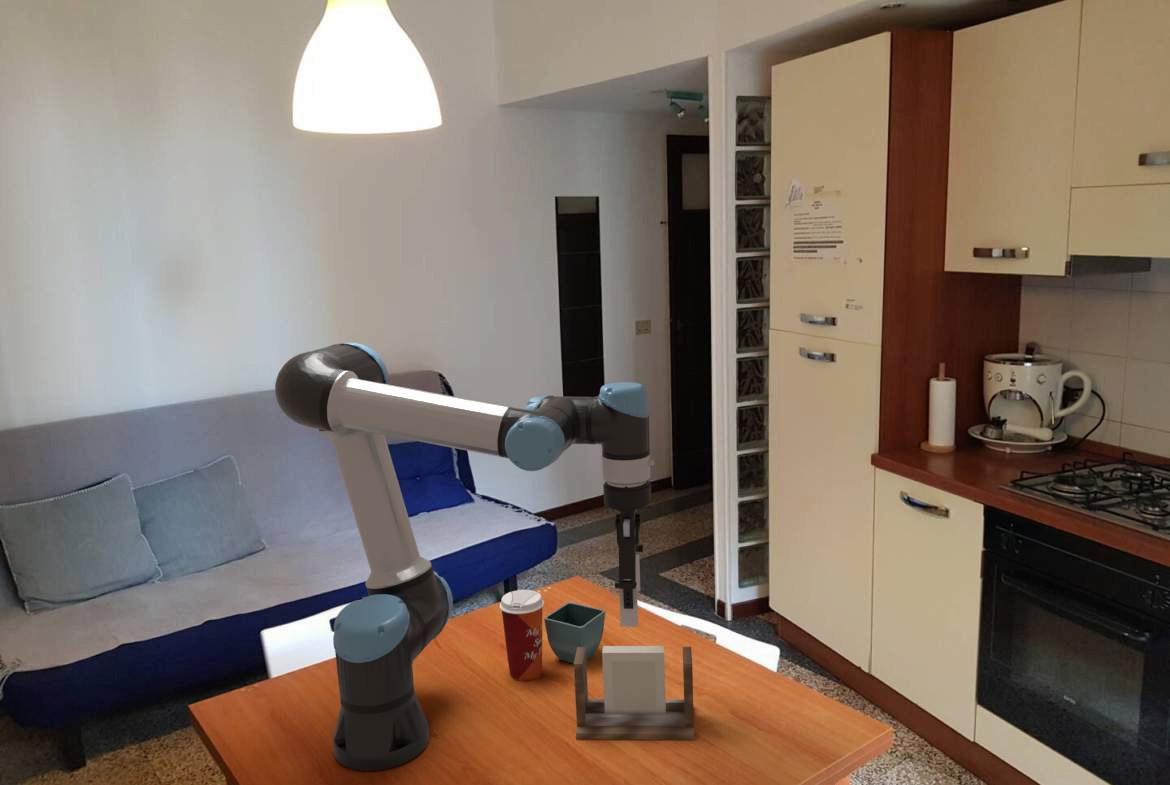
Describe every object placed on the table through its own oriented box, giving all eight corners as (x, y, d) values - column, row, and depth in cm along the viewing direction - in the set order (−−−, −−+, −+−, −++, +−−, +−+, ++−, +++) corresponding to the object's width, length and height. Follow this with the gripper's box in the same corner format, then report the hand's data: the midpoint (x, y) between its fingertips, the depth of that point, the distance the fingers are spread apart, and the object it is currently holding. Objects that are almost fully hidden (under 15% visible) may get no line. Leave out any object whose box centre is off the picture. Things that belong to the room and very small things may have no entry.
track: (576, 738, 144) (572, 669, 142) (581, 706, 154) (578, 641, 152) (694, 739, 142) (692, 670, 140) (692, 707, 152) (690, 641, 150)
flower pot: (608, 653, 173) (606, 609, 171) (583, 672, 166) (581, 627, 164) (570, 643, 178) (568, 601, 176) (545, 662, 170) (542, 618, 169)
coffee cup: (541, 685, 162) (537, 607, 159) (498, 682, 163) (493, 605, 161) (552, 663, 170) (548, 588, 167) (511, 660, 172) (506, 587, 169)
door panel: (605, 720, 147) (602, 653, 145) (606, 712, 150) (603, 646, 147) (665, 721, 146) (663, 653, 144) (665, 713, 149) (663, 645, 147)
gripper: (649, 504, 128) (653, 642, 132) (651, 460, 153) (654, 577, 156) (597, 505, 129) (602, 642, 133) (608, 461, 153) (612, 577, 157)
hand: (630, 607), depth 145 cm, fingers open, 13 cm apart
